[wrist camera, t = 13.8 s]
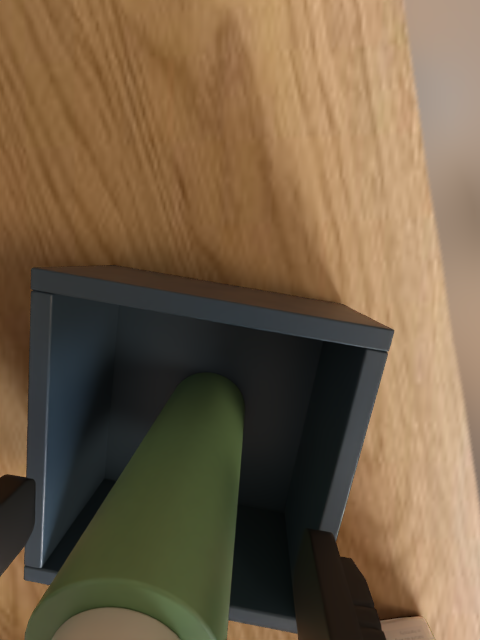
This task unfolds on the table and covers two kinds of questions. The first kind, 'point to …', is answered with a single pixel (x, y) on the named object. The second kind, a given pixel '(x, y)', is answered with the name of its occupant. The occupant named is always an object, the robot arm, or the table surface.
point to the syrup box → (407, 629)
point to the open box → (159, 384)
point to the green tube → (159, 532)
